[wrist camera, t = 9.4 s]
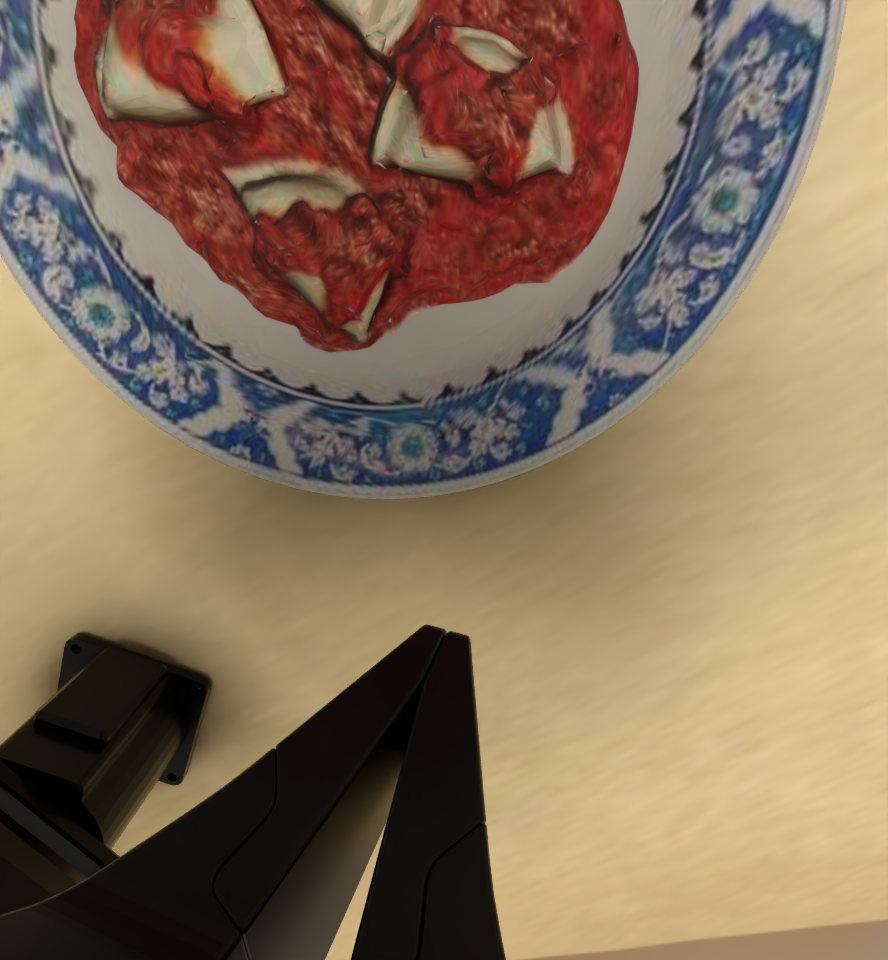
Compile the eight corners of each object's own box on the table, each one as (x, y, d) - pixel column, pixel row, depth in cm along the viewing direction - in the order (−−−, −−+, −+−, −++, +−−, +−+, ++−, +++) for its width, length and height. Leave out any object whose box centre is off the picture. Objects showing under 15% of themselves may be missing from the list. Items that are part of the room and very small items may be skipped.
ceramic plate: (289, 585, 23) (262, 625, 20) (-192, -54, 16) (-331, -129, 14) (918, 242, 17) (1006, 229, 14) (544, -904, 11) (568, -1320, 8)
